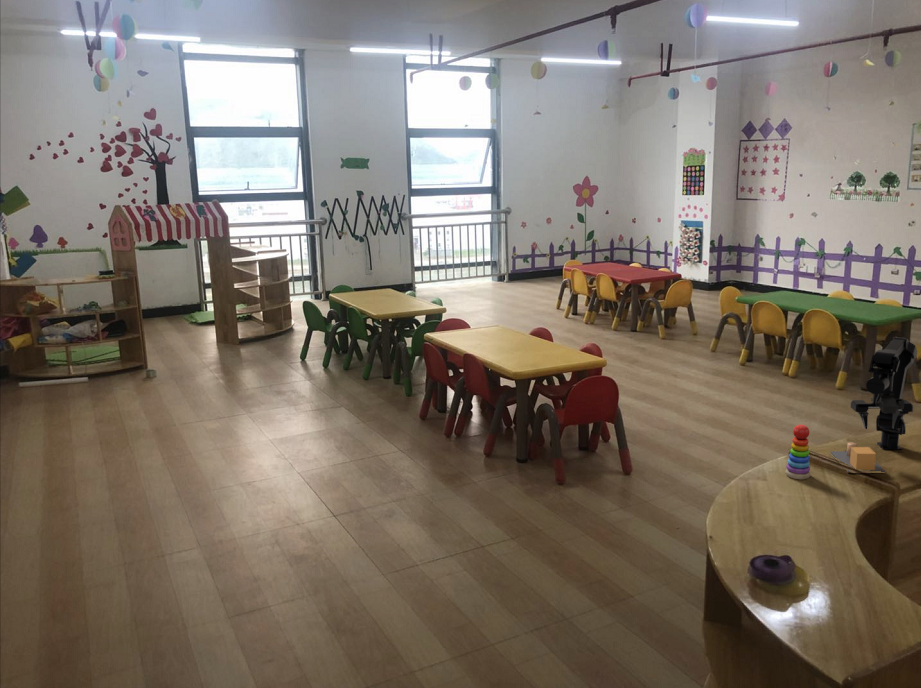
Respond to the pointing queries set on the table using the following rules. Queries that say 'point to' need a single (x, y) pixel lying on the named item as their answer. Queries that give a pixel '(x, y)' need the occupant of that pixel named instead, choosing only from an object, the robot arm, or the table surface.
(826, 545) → the table surface
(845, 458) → the plate
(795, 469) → the stacking toy
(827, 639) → the table surface
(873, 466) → the natural wood cube
